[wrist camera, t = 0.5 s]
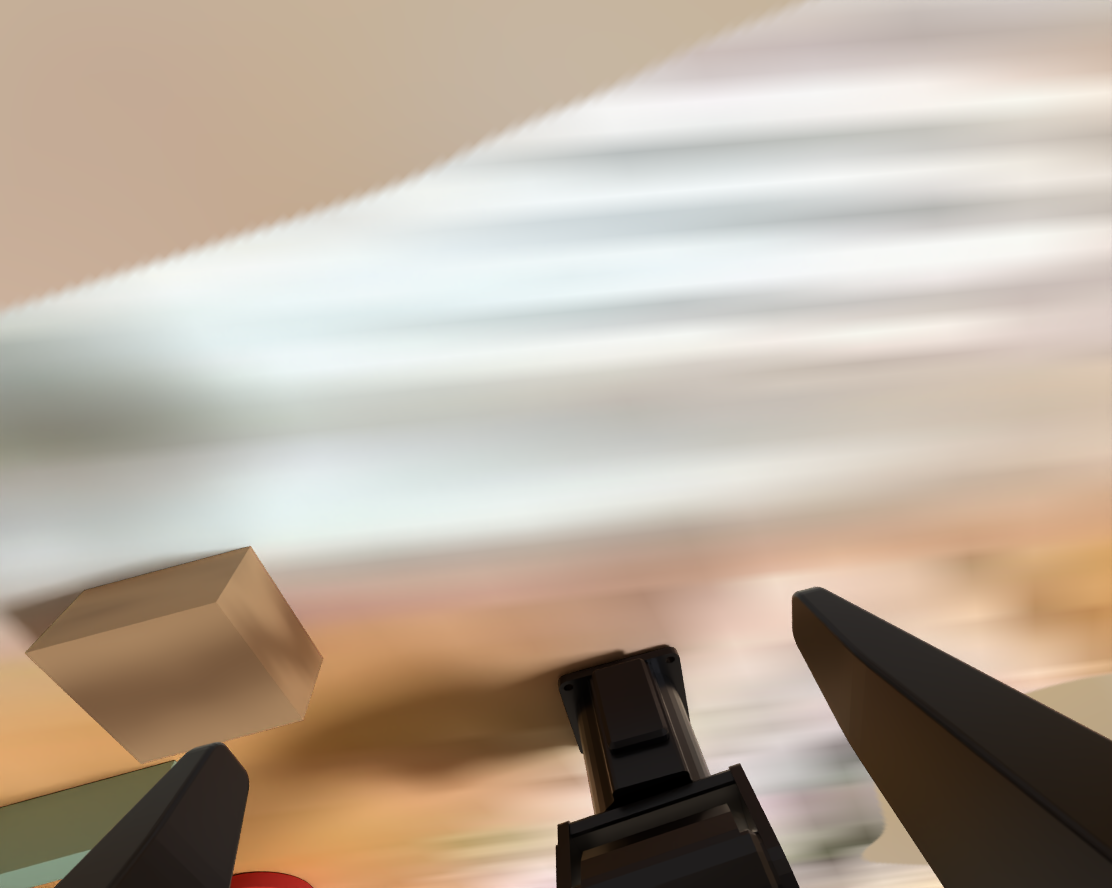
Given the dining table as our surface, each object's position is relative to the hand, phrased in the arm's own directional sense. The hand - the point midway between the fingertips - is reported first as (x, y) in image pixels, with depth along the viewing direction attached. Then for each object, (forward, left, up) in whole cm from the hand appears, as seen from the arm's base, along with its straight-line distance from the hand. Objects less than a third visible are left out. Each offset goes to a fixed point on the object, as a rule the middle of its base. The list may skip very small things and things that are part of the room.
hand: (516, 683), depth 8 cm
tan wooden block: (-8, +15, -14) cm, 22 cm away
